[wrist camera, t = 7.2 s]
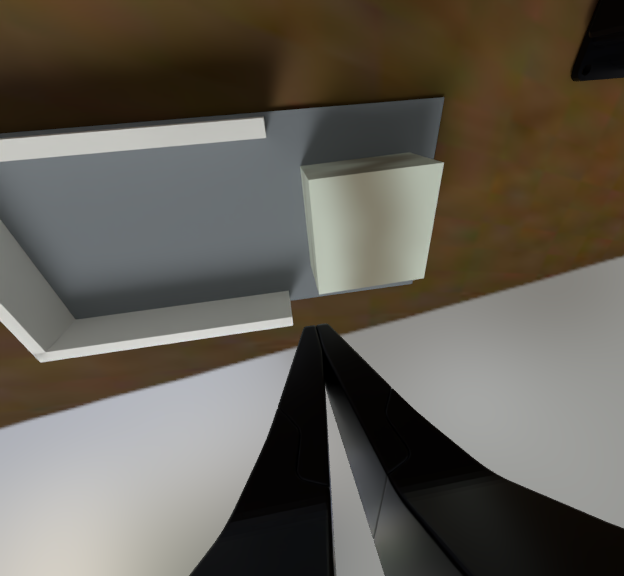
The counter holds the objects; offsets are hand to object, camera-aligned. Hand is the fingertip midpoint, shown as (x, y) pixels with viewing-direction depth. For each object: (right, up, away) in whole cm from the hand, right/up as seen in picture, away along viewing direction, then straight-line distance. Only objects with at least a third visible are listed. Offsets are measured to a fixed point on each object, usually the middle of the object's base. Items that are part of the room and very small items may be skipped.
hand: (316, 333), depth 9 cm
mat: (-6, +6, +9) cm, 12 cm away
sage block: (+3, +7, +9) cm, 12 cm away
